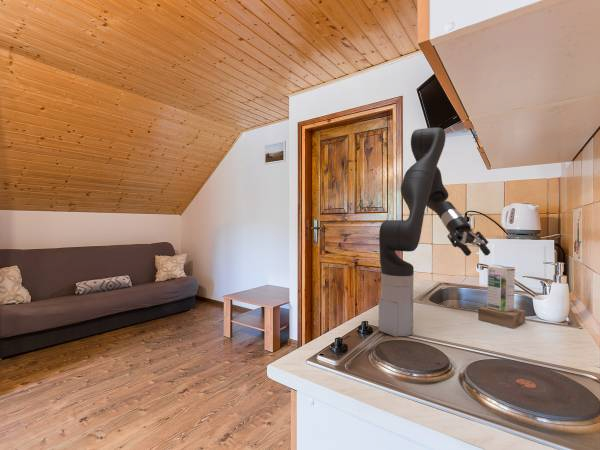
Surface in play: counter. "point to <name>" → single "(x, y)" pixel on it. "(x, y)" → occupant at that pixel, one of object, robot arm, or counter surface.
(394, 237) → the robot arm
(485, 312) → the walnut base
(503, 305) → the syrup box
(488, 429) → the counter surface
